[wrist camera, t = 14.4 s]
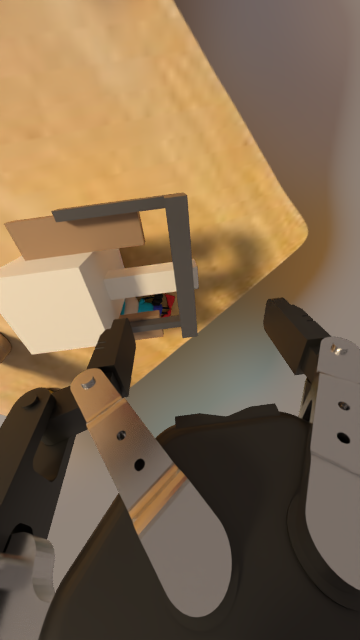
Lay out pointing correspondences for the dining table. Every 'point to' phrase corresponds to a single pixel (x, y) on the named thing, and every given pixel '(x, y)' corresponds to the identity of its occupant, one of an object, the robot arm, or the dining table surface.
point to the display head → (77, 280)
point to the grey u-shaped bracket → (179, 250)
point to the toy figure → (147, 305)
